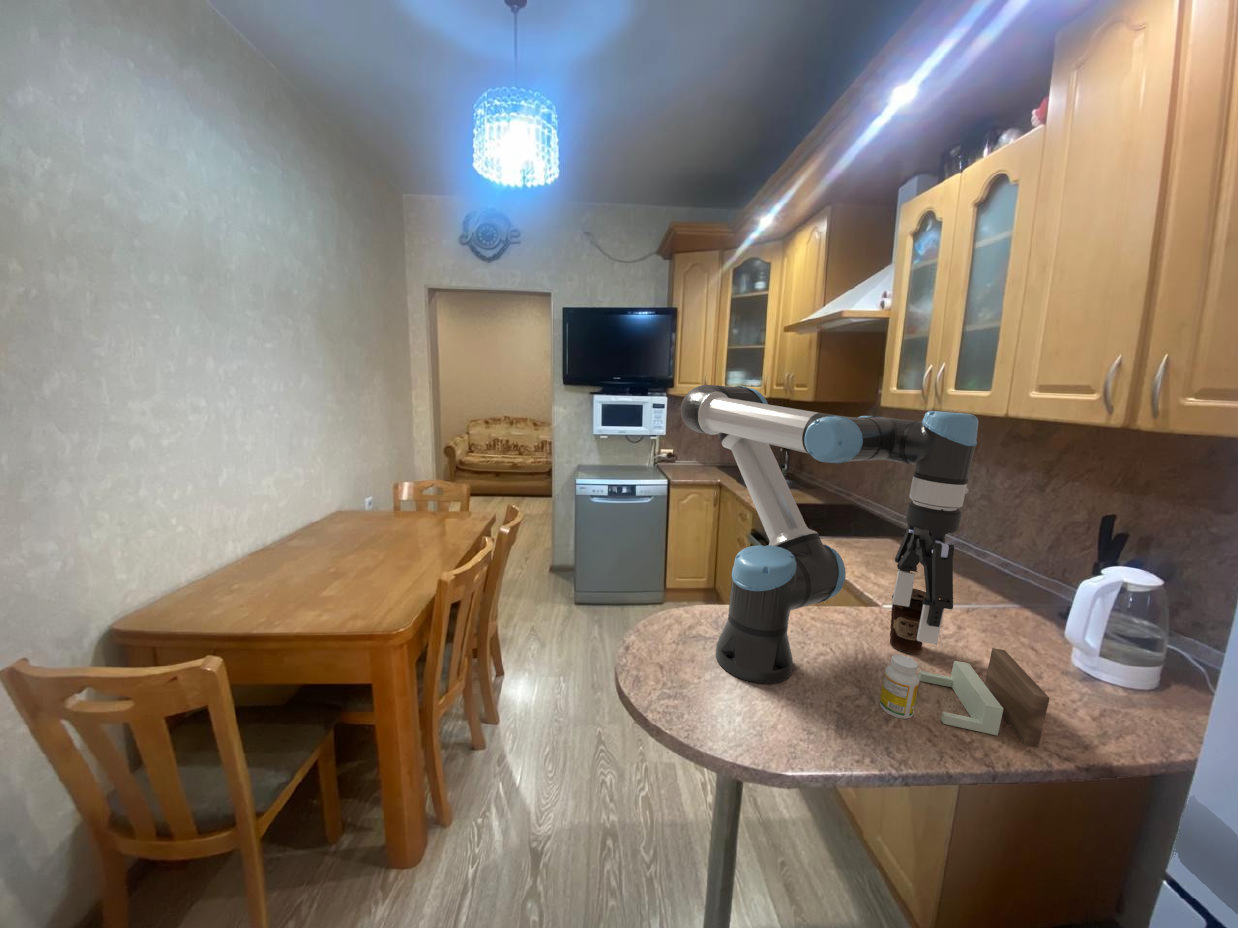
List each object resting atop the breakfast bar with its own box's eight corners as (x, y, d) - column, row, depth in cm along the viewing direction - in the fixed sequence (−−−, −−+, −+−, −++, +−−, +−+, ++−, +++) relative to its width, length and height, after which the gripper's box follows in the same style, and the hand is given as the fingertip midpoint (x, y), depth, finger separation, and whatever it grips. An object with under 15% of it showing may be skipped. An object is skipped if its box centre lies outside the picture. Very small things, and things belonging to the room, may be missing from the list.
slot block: (943, 723, 83) (948, 697, 82) (918, 677, 96) (922, 654, 95) (997, 735, 80) (1003, 708, 80) (964, 686, 94) (968, 663, 93)
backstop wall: (1023, 743, 79) (1034, 694, 78) (983, 690, 93) (992, 647, 92) (1038, 747, 78) (1049, 697, 77) (995, 692, 93) (1004, 649, 91)
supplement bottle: (891, 720, 83) (900, 669, 81) (872, 699, 88) (880, 652, 87) (920, 719, 84) (929, 669, 82) (899, 699, 89) (908, 652, 87)
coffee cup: (934, 661, 102) (945, 604, 100) (892, 654, 104) (902, 599, 102) (917, 640, 111) (927, 588, 109) (879, 634, 112) (887, 582, 110)
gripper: (998, 529, 67) (968, 666, 71) (932, 491, 91) (912, 595, 95) (938, 521, 69) (912, 655, 73) (888, 486, 93) (871, 588, 97)
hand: (912, 621), depth 84 cm, fingers open, 13 cm apart
